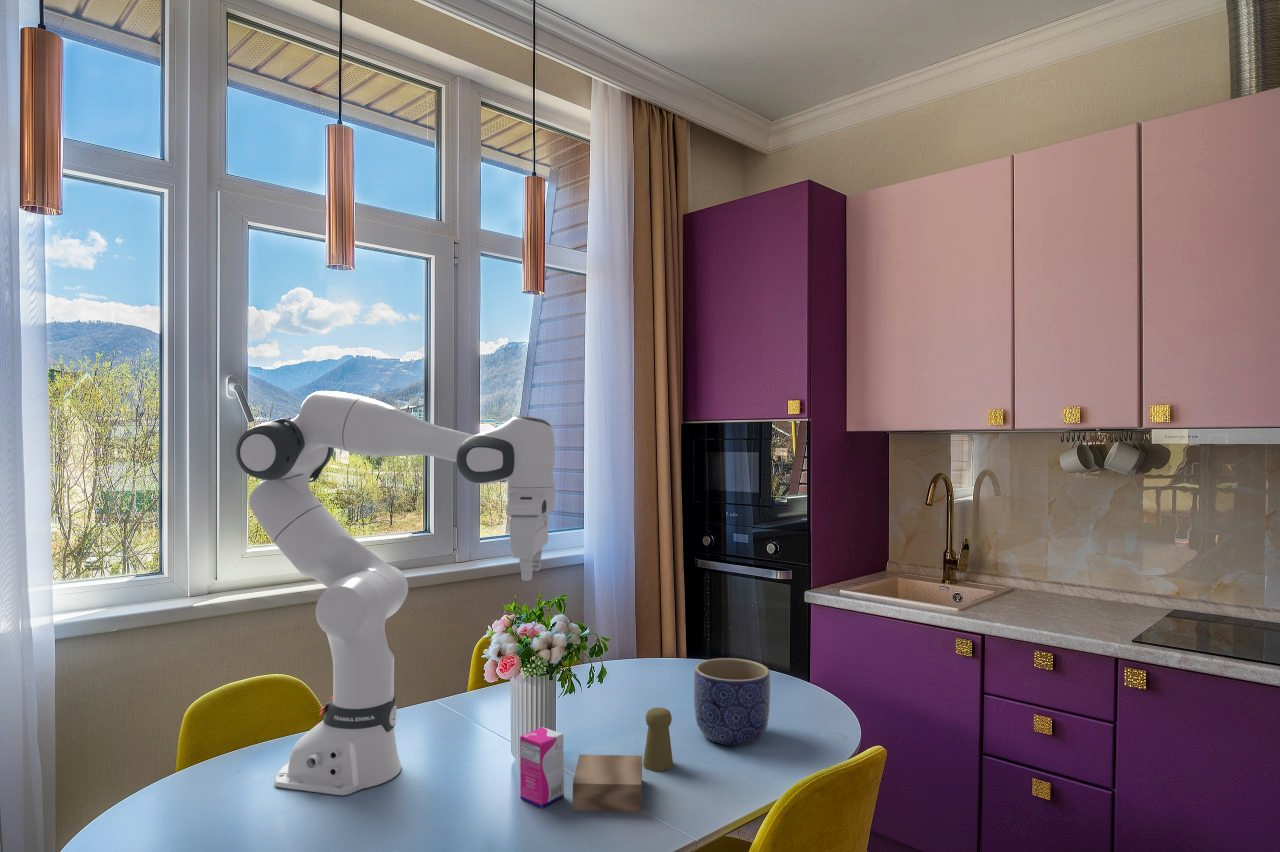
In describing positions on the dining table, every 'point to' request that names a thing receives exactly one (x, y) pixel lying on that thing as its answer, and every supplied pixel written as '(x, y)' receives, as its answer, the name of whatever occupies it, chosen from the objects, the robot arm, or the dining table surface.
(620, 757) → the walnut block
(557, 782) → the supplement box
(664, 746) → the olive pawn
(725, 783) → the dining table surface
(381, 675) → the robot arm
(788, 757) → the dining table surface
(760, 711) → the planter
